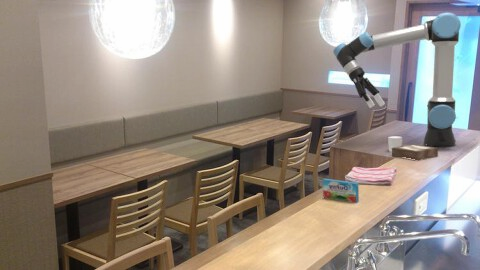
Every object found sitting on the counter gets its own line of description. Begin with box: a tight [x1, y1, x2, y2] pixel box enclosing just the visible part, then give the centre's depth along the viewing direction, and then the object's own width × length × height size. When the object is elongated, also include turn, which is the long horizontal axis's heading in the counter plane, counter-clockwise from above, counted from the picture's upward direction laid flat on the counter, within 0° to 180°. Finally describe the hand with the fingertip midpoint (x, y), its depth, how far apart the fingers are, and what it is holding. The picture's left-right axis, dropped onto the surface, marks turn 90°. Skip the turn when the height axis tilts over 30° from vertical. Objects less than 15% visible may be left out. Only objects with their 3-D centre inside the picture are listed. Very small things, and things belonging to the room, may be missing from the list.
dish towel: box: [344, 166, 398, 186], centre depth 177 cm, size 17×23×4 cm
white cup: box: [387, 135, 403, 153], centre depth 226 cm, size 7×7×7 cm
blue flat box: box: [322, 178, 360, 204], centre depth 150 cm, size 12×2×6 cm, turn 50°
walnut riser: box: [391, 143, 439, 161], centre depth 212 cm, size 14×14×4 cm
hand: (377, 106), depth 227 cm, fingers open, 13 cm apart
